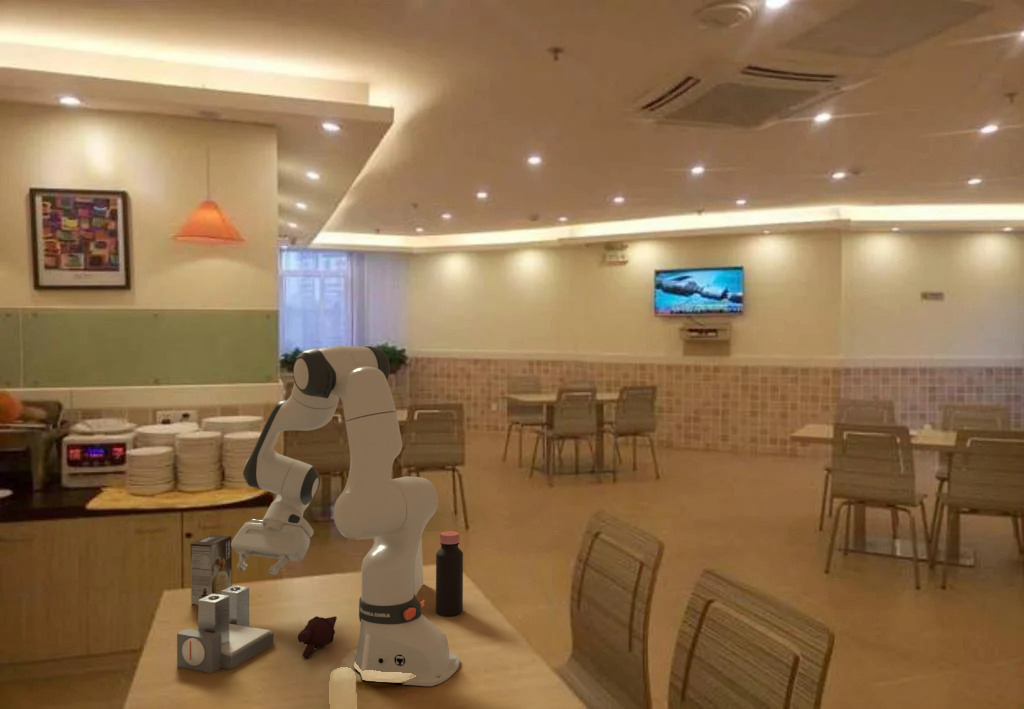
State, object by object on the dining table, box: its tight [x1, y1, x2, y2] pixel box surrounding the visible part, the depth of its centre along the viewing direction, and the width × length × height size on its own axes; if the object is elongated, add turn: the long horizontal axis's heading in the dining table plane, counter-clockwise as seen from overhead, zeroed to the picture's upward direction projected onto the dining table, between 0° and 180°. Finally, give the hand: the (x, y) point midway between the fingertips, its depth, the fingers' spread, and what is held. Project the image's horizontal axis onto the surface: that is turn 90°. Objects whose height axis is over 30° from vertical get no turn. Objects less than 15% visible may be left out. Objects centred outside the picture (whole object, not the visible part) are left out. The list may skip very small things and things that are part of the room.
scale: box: [176, 624, 275, 674], centre depth 164 cm, size 14×17×7 cm
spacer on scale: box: [197, 594, 229, 646], centre depth 162 cm, size 4×4×10 cm
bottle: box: [435, 530, 464, 617], centre depth 190 cm, size 7×7×20 cm
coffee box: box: [190, 534, 233, 606], centre depth 198 cm, size 9×6×16 cm
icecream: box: [297, 616, 338, 659], centre depth 169 cm, size 7×7×15 cm
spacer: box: [221, 584, 250, 627], centre depth 177 cm, size 4×4×10 cm
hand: (256, 571), depth 184 cm, fingers open, 8 cm apart
